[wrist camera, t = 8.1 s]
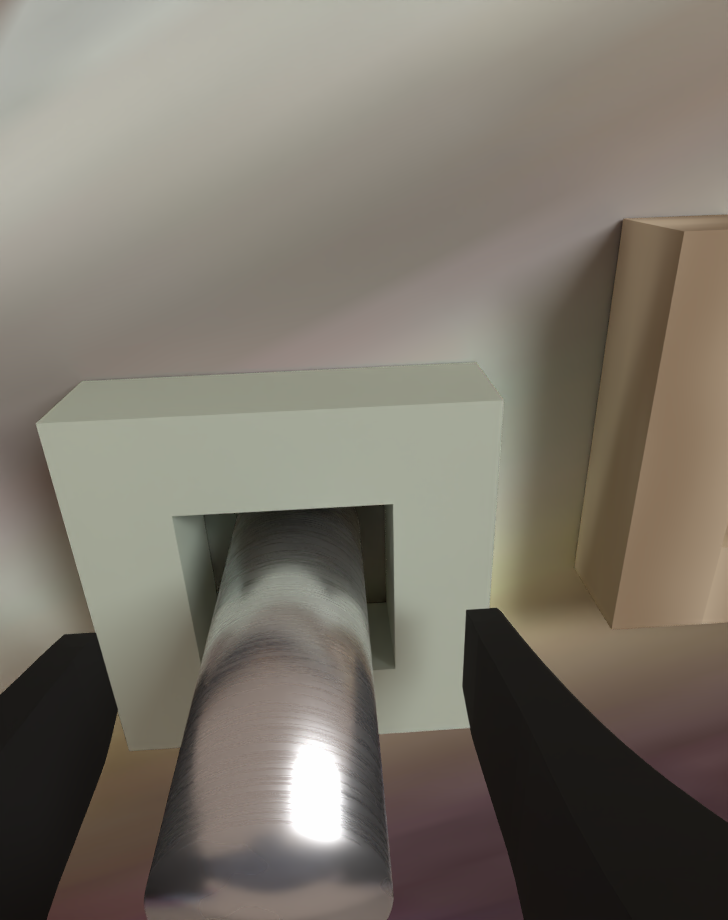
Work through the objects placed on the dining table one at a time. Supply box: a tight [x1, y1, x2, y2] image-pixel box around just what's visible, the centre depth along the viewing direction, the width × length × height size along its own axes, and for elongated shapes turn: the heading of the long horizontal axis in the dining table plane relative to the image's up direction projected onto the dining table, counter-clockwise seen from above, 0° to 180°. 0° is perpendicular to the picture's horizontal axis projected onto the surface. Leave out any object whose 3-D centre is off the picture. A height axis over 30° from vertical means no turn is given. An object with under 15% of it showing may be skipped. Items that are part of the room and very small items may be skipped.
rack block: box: [36, 362, 504, 751], centre depth 15 cm, size 9×9×2 cm
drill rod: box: [144, 506, 393, 920], centre depth 12 cm, size 3×3×9 cm
